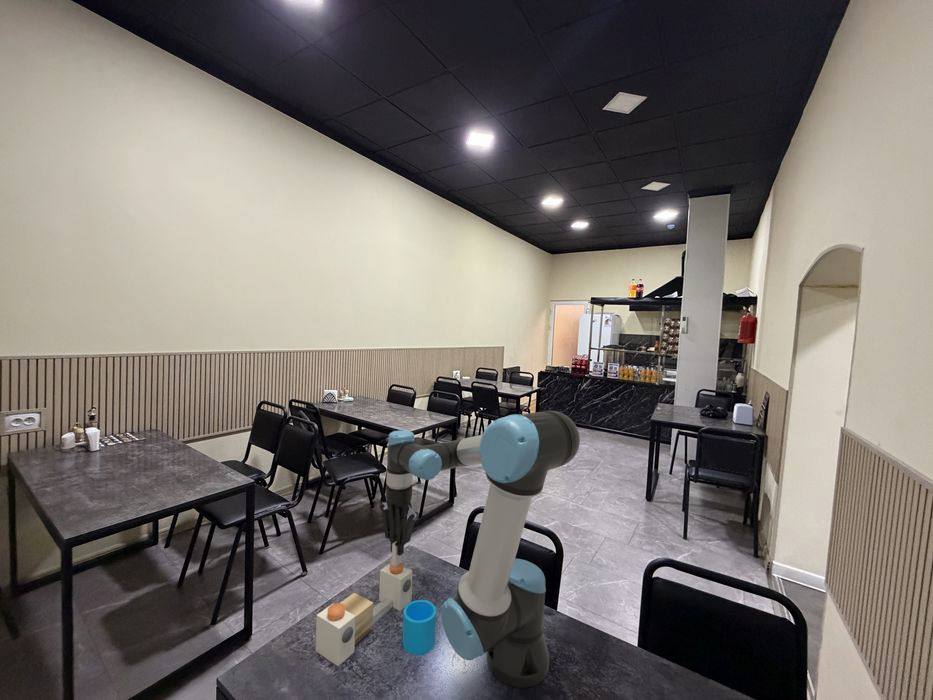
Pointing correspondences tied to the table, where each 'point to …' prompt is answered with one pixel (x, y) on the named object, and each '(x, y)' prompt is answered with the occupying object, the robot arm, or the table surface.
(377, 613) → the rail
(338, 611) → the plunger
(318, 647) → the cabinet
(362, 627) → the block
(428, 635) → the mug
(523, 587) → the robot arm
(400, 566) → the plunger
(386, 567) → the cabinet
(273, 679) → the table surface
